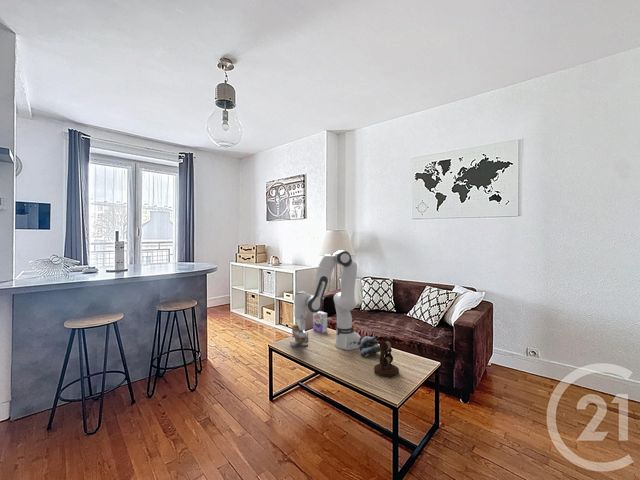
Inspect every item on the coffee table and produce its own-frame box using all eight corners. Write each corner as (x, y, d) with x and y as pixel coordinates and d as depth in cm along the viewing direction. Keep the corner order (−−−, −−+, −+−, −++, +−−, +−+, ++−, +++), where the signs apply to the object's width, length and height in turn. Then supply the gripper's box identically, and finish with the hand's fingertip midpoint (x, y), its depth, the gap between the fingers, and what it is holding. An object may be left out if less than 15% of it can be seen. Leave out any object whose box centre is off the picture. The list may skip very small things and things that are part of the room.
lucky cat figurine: (360, 358, 200) (354, 337, 206) (361, 358, 211) (356, 338, 217) (381, 352, 199) (375, 331, 204) (382, 353, 209) (376, 333, 215)
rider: (304, 335, 216) (304, 328, 216) (305, 338, 211) (305, 330, 211) (297, 336, 215) (297, 329, 215) (298, 338, 210) (298, 331, 210)
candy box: (312, 329, 262) (312, 310, 262) (317, 328, 266) (317, 309, 266) (322, 333, 251) (322, 314, 251) (327, 332, 255) (327, 312, 255)
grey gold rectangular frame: (305, 340, 234) (304, 323, 234) (311, 353, 210) (311, 333, 210) (289, 342, 232) (289, 324, 231) (294, 354, 207) (294, 334, 207)
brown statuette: (381, 365, 190) (381, 334, 190) (403, 371, 181) (403, 339, 180) (369, 373, 179) (369, 340, 178) (392, 381, 169) (392, 346, 169)
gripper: (307, 317, 208) (307, 337, 208) (302, 310, 228) (302, 328, 228) (298, 318, 206) (298, 337, 207) (294, 310, 226) (294, 328, 226)
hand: (300, 332), depth 217 cm, fingers closed
